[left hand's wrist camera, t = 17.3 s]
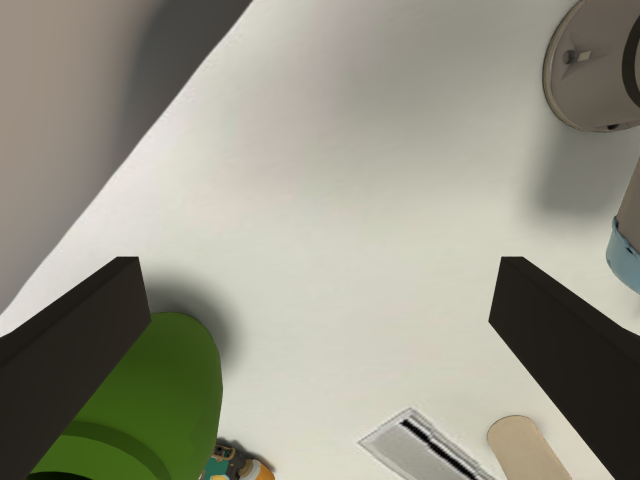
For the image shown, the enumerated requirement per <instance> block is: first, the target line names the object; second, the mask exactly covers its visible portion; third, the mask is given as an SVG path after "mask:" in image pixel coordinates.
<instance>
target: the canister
mask: <svg viewBox="0 0 640 480" xmlns="http://www.w3.org/2000/svg"><path fill="white" fill-rule="evenodd" d="M487 439H488V442H489V444H490V446H491V448H492V450H493V452H494V454H495V456H496V458H497V460H498V462H499V464H500V466H501V468H502V469H503V471H504V473H505V475H506V477H507V479H508V480H573V479H572V478H571V476H570V475H569V473H568V472H567V470H566V469H565V467H564V466H563V464H562V463H561V462H560V460H559V459H558V457H557V456H556V454H555V453H554V451H553V450H552V449H551V447H550V446H549V444H548V443H547V441H546V440H545V438H544V437H543V435H542V434H541V433H540V431H539V430H538V428H537V427H536V425H535V424H534V423H533V421H531V420H530V419H528V418H526V417H523V416H510V417H506V418H503V419H501V420H499V421H497V422H496V423H495V424H493V425H492V427H491V428H490V429H489V431H488V435H487Z"/></svg>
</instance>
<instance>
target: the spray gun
mask: <svg viewBox="0 0 640 480" xmlns="http://www.w3.org/2000/svg"><path fill="white" fill-rule="evenodd" d="M215 447H216V449H215V448H214V450H213V453H212V456H211V457H210V459H209V461H208V463H207V464H206V466H205V468H204V470H203V472H202V475H201V479H200V480H239V479H240V480H275V477H274V474H273V473H272V472H271V471H269V470H268V469H267V468H266V467H265V466H264V465H263V464H262V463H261V462H259V461H257V460H255V459H254V460H251V459H246V460H244V459H243V458H242V457H241V455H240V454H239V453H238V452H237V451H235V448H233V447H232V448H228V447H224V446H220V445H217V444H216V445H215ZM224 450H225V451H224ZM228 450H229V451H231V450H233V451H231V452H230V453H229V452H228ZM237 469H239V472H237ZM238 473H239V474H238Z"/></svg>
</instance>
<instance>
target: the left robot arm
mask: <svg viewBox="0 0 640 480" xmlns="http://www.w3.org/2000/svg"><path fill="white" fill-rule="evenodd" d="M543 83H544V90H545V95H546V98H547V101H548V103H549V105H550V107H551V109H552V110H553V112H554V113H555V114H556V116H557V117H558V118H559V119H560V120H562V121H563V122H564V123H566V124H567V125H569V126H571V127H573V128H576V129H579V130H583V131H591V132H613V131H619V130H624V129H628V128H631V127H634V126H638V125H640V0H581V1H580V2H579V3H578V4H577V5H576V6H575V7H574V8H573V9H572V10H571V11H570V12H569V13H568V14H567V16H566V17H565V18H564V20H563V21H562V22H561V24H560V25H559V27H558V29H557V30H556V32H555V34H554V36H553V38H552V40H551V43H550V45H549V48H548V51H547V54H546V58H545V63H544V72H543ZM612 228H613V230H612V234H611V237H610V240H609V243H608V246H607V250H606V260H607V263H608V265H609V267H610V268H611V269H612V271H613V273H614V274H615V276H616V277H617V278H618V279H619V280H621V281H622V282H623V283H624V284H625V285H627V286H628V287H629V288H631V289H632V290H633V291H635V292H637V293H638V294H640V158H639V160H638V163H637V165H636V168H635V170H634V173H633V176H632V178H631V181H630V183H629V186H628V188H627V191H626V193H625V196H624V199H623V201H622V204H621V206H620V209H619V211H618V214H617V215H616V216H615V217H614V219H613V221H612ZM151 322H152V321H151V316H150V311H149V306H148V301H147V296H146V291H145V286H144V281H143V277H142V272H141V267H140V262H139V257H116V258H115V259H113V260H112V261H110V262H109V263H108V264H106V265H105V266H103V267H102V268H101V269H99V270H98V271H96V272H95V273H94V274H92V275H91V276H89V277H88V278H87V279H85V280H84V281H82V282H81V283H80V284H78V285H77V286H75V287H74V288H73V289H71V290H70V291H68V292H67V293H66V294H64V295H63V296H61V297H60V298H59V299H57V300H56V301H54V302H53V303H52V304H50V305H49V306H47V307H46V308H44V309H43V310H42V311H40V312H39V313H37V314H36V315H35V316H33V317H32V318H30V319H29V320H28V321H26V322H25V323H23V324H22V325H21V326H19V327H18V328H16V329H15V330H14V331H12V332H11V333H9V334H7V335H5V336H2V337H0V480H25V479H26V477H27V476H28V475H29V474H30V473H31V471H32V470H33V469H34V468H35V466H36V465H37V464H38V463H39V461H40V460H41V459H42V458H43V456H44V455H45V454H46V453H47V451H48V450H49V449H50V448H51V446H52V445H53V444H54V443H55V441H56V440H57V439H58V438H59V436H60V435H61V434H62V433H63V431H64V430H65V429H66V428H67V426H68V425H69V424H70V423H71V421H72V420H73V419H74V418H75V416H76V415H77V414H78V413H79V412H80V410H81V409H82V408H83V407H84V405H85V404H86V403H87V402H88V400H89V399H90V398H91V397H92V395H93V394H94V393H95V392H96V390H97V389H98V388H99V387H100V385H101V384H102V383H103V382H104V380H105V379H106V378H107V377H108V375H109V374H110V373H111V372H112V370H113V369H114V368H115V367H116V365H117V364H118V363H119V362H120V360H121V359H122V358H123V357H124V355H125V354H126V353H127V352H128V350H129V349H130V348H131V347H132V346H133V344H134V343H135V342H136V341H137V339H138V338H139V337H140V336H141V334H142V333H143V332H144V331H145V329H146V328H147V327H148V326H149V324H150V323H151ZM488 322H489V323H490V324H491V326H492V327H493V328H494V329H495V331H496V332H497V333H498V334H499V336H500V337H501V338H502V339H503V341H504V342H505V343H506V344H507V346H508V347H509V348H510V349H511V350H512V352H513V353H514V354H515V355H516V357H517V358H518V359H519V360H520V362H521V363H522V364H523V365H524V367H525V368H526V369H527V370H528V372H529V373H530V374H531V375H532V377H533V378H534V379H535V380H536V382H537V383H538V384H539V385H540V387H541V388H542V389H543V390H544V392H545V393H546V394H547V395H548V397H549V398H550V399H551V400H552V402H553V403H554V404H555V405H556V407H557V408H558V409H559V410H560V412H561V413H562V414H563V415H564V416H565V418H566V419H567V420H568V421H569V423H570V424H571V425H572V426H573V428H574V429H575V430H576V431H577V433H578V434H579V435H580V436H581V438H582V439H583V440H584V441H585V443H586V444H587V445H588V446H589V448H590V449H591V450H592V451H593V453H594V454H595V455H596V456H597V458H598V459H599V460H600V461H601V463H602V464H603V465H604V466H605V468H606V469H607V470H608V471H609V473H610V474H611V475H612V476H613V477H614V479H615V480H640V336H639V335H637V334H634V333H632V332H630V331H628V330H626V329H624V328H622V327H621V326H619V325H618V324H617V323H615V322H614V321H612V320H611V319H610V318H608V317H607V316H605V315H604V314H603V313H601V312H600V311H598V310H597V309H595V308H594V307H593V306H591V305H590V304H588V303H587V302H586V301H584V300H583V299H581V298H580V297H579V296H577V295H576V294H574V293H573V292H572V291H570V290H569V289H567V288H566V287H565V286H563V285H562V284H560V283H559V282H558V281H556V280H555V279H553V278H552V277H551V276H549V275H548V274H546V273H545V272H544V271H542V270H541V269H539V268H538V267H537V266H535V265H534V264H532V263H531V262H530V261H528V260H527V259H525V258H524V257H501V262H500V267H499V272H498V277H497V281H496V286H495V291H494V296H493V301H492V306H491V311H490V316H489V321H488Z"/></svg>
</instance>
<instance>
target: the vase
mask: <svg viewBox="0 0 640 480" xmlns="http://www.w3.org/2000/svg"><path fill="white" fill-rule="evenodd" d="M150 316H151V321H152V322H151V323H150V324H149V326H148V327H147V328H146V329H145V331H144V332H143V333H142V334H141V336H140V337H139V338H138V339H137V341H136V342H135V343H134V344H133V346H132V347H131V348H130V349H129V350H128V352H127V353H126V354H125V355H124V357H123V358H122V359H121V360H120V362H119V363H118V364H117V365H116V367H115V368H114V369H113V370H112V372H111V373H110V374H109V375H108V377H107V378H106V379H105V380H104V382H103V383H102V384H101V385H100V387H99V388H98V389H97V390H96V392H95V393H94V394H93V395H92V397H91V398H90V399H89V400H88V402H87V403H86V404H85V405H84V407H83V408H82V409H81V410H80V412H79V413H78V414H77V415H76V416H75V418H74V419H73V420H72V421H71V423H70V424H69V425H68V426H67V428H66V429H65V430H64V431H63V433H62V434H61V435H60V436H59V438H58V439H57V440H56V441H55V443H54V444H53V445H52V446H51V448H50V449H49V450H48V451H47V453H46V454H45V455H44V456H43V458H42V459H41V460H40V461H39V463H38V464H37V465H36V466H35V468H34V469H33V470H32V471H31V473H30V474H29V475H28V476H27V477H26V479H25V480H198V479H199V477H200V475H201V473H202V472H203V470H204V468H205V466H206V464H207V463H208V461H209V459H210V457H211V456H212V453H213V450H214V447H215V445H216V439H217V432H218V425H219V418H220V411H221V404H222V395H223V384H222V374H221V364H220V357H219V352H218V350H217V347H216V345H215V343H214V340H213V338H212V336H211V334H210V333H209V331H208V330H207V328H206V327H205V326H204V325H203V324H202V323H200V322H199V321H197V320H196V319H194V318H192V317H190V316H188V315H185V314H182V313H176V312H162V313H154V314H150Z"/></svg>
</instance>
